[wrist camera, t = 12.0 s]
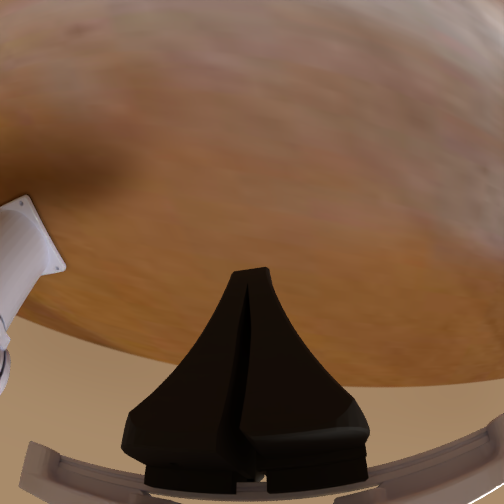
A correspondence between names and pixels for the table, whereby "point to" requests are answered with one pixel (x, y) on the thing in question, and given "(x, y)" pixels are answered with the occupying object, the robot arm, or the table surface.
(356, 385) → the table surface
